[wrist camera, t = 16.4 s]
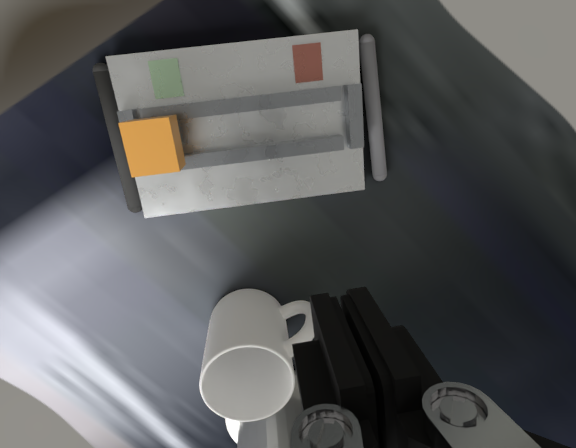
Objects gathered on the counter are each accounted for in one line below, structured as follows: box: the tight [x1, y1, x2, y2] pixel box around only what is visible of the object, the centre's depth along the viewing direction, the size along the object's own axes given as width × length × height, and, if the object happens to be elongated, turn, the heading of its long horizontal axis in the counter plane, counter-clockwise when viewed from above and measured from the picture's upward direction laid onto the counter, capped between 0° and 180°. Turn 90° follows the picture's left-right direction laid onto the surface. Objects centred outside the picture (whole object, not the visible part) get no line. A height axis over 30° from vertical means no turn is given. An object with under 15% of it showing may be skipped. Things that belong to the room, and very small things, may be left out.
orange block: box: [118, 115, 186, 177], centre depth 31 cm, size 4×4×6 cm
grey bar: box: [93, 63, 142, 213], centre depth 35 cm, size 13×1×1 cm, turn 6°
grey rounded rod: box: [359, 34, 387, 181], centre depth 37 cm, size 13×1×1 cm, turn 10°
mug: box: [199, 289, 314, 422], centre depth 39 cm, size 12×8×10 cm
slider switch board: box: [105, 29, 365, 218], centre depth 35 cm, size 14×21×4 cm, turn 96°
